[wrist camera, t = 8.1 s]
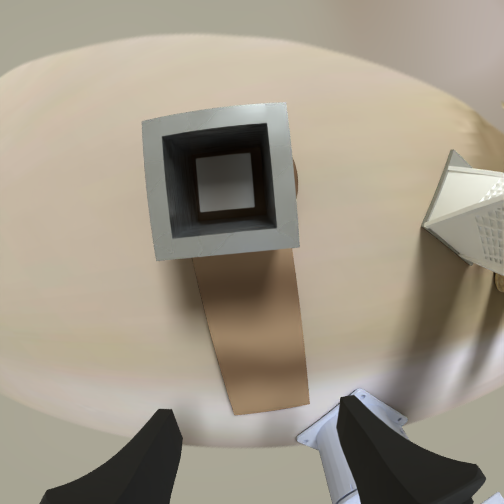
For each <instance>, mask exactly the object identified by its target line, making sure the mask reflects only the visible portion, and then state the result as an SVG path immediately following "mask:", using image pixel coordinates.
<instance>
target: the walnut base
mask: <svg viewBox="0 0 504 504" xmlns="http://www.w3.org/2000/svg"><path fill="white" fill-rule="evenodd" d="M192 165H193V175H194V185H195V195H196V204H197V213H198V222H200V221H209V220H218V219H228V218H238V217H248V216H258V215H267V214H266V203H265V192H264V182H263V171H262V161H261V151H260V147H253V148H242V149H232V150H223V151H215V152H207V153H200V154H193V155H192ZM293 168H294V179H295V190H296V199H297V193H298V176H297V170H296V166H295V163H294V160H293ZM192 260H193V264H194V269H195V273H196V277H197V282H198V286H199V290H200V294H201V298H202V302H203V306H204V310H205V314H206V318H207V322H208V326H209V330H210V333H211V337H212V341H213V344H214V348H215V352H216V355H217V359H218V362H219V366H220V369H221V373H222V376H223V380H224V383H225V386H226V389H227V393H228V396H229V399H230V402H231V406H232V409H233V412H234V415H243V414H252V413H259V412H267V411H273V410H280V409H286V408H292V407H297V406H302V405H307V404H310V401H309V389H308V378H307V368H306V358H305V348H304V339H303V330H302V321H301V313H300V305H299V296H298V289H297V281H296V273H295V266H294V259H293V252H292V248H287V249H277V250H266V251H256V252H245V253H235V254H225V255H214V256H204V257H193V258H192Z"/></svg>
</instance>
